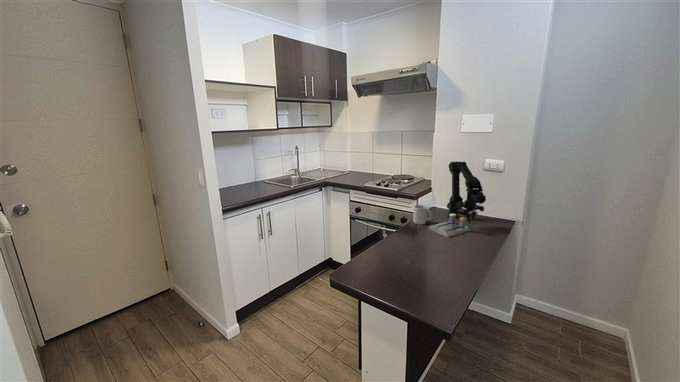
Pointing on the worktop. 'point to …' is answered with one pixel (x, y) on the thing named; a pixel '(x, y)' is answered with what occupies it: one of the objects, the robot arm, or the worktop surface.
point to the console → (448, 228)
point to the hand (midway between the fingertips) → (469, 222)
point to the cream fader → (452, 218)
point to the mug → (421, 214)
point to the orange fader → (462, 221)
